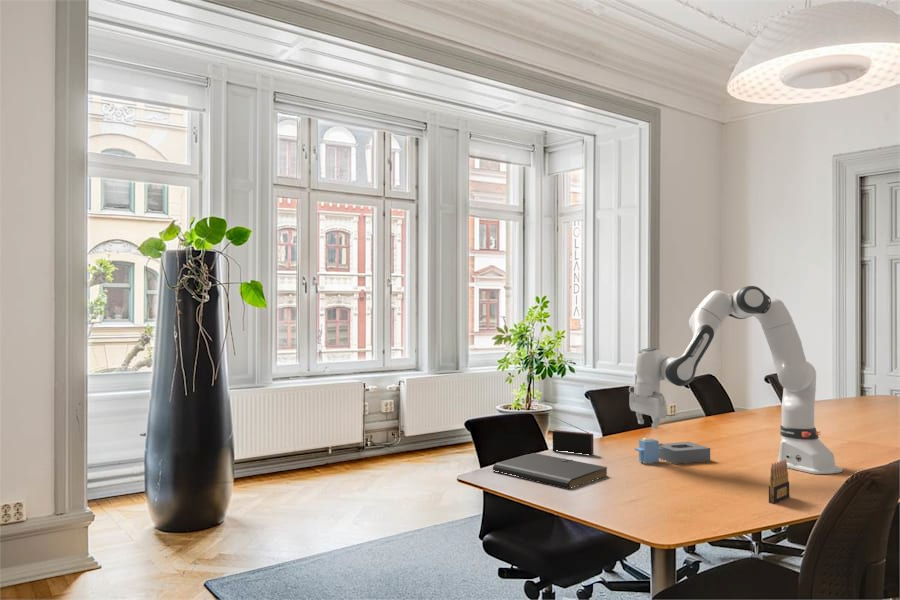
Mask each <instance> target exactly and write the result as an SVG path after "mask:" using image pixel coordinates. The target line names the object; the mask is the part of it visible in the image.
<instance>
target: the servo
mask: <svg viewBox="0 0 900 600" xmlns="http://www.w3.org/2000/svg"><path fill="white" fill-rule="evenodd" d="M659 441H660V440H657V439H653V438H647V437H643V438H642V439H638V447H634V451H637V452H638V461H639V462H640V461H641V462H640V463H642V462H644V463H643V464H645V463H648V464H654V463H653V462H659V463H660V459H659V451H660V450H663V448H660V447H659V446H661V445H663V444H664V443H663V442H662V443H659Z"/></svg>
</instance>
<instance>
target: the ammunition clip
mask: <svg viewBox="0 0 900 600" xmlns="http://www.w3.org/2000/svg"><path fill="white" fill-rule="evenodd" d="M790 495H791V494H790V481H789V471H788V468H787V462H786V459H784V461H783V460H782V462H781V461H779V462H777V461H776V462H774V463H772V464H771V466H770V476H769V486H768V504H772V505H776V504H779V503H781V502H783V501H785V500H787V499H790Z"/></svg>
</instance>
